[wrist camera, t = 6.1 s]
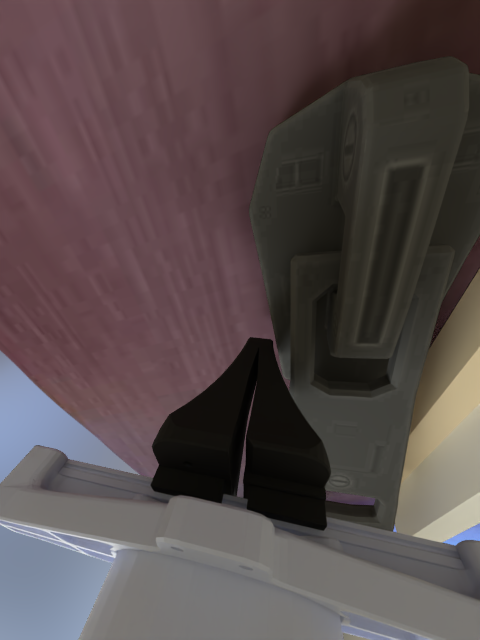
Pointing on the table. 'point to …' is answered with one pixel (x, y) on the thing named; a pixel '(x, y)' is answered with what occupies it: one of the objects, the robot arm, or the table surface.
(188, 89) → the table surface
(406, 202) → the zipper pull
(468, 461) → the cream rectangular bar
